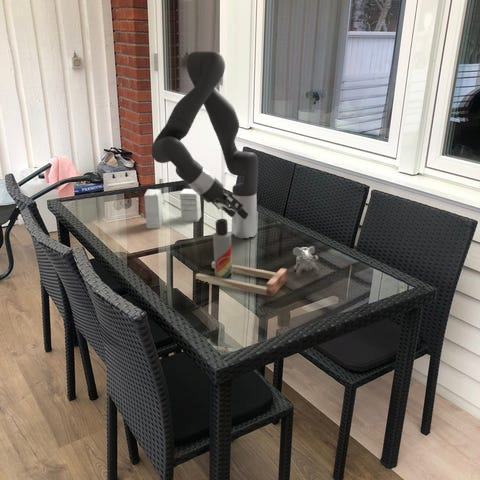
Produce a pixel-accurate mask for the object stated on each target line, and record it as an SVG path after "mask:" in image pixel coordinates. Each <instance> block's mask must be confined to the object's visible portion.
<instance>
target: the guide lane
mask: <svg viewBox="0 0 480 480" xmlns="http://www.w3.org/2000/svg"><path fill="white" fill-rule="evenodd" d="M211 269H215V265H214V260H213V261H212V262H211ZM232 273H235V274H240V275H241V274H242V275H246V276H252V277H257V278H262V279H267V280H268V281H267V282H266V286H265V285H264V286H263V285H258V284H253V283H248V282H243V281H239V280H233V279H224V278H219V277H215V275H214V276H213V275H208V274H203V273H199V272H198V273H196V274H195V280H196V279H199V280H201V281H204V282H203V283H205V282H208V283H207V284H210V283H211V285H216V286H219V287H224V288H225V287H226V288H229V289H234V290H239V291H243V292H248V293H252V294H258V295H263V296H268V297H274V295H276V293H277V292H278V291H279V290H280V289H281V288H282V287H283V285H284V284H285V283H286V282H287V281H288V268H284V267H283V268H282V267H281V268H280V269H279V270H277V272H275V271H274V272H273V271H270V270H265V269H257V268H253V267H249V266H242V265H237V264H233V263H232Z"/></svg>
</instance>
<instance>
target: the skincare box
mask: <svg viewBox="0 0 480 480" xmlns="http://www.w3.org/2000/svg"><path fill="white" fill-rule="evenodd" d="M143 196H144V210H145V222H146V223H145V224H146V225H145V226H146V228H147V229H161V227H162V225H163V222H164V219H163V218H164V215H163V204H162V201H163V200H162V190H161V188H160V189H156V188H155V189H153V188H152V189H149V188H148V189H147V190H146V192H145V193H144V195H143Z"/></svg>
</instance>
